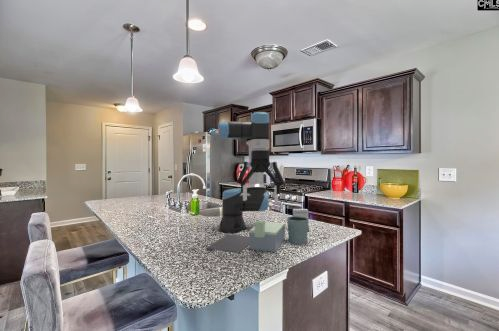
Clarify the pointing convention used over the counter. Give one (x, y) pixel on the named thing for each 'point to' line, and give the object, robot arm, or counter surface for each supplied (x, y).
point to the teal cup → (297, 229)
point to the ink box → (301, 214)
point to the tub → (267, 241)
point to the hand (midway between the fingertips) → (260, 201)
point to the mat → (230, 243)
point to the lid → (266, 228)
